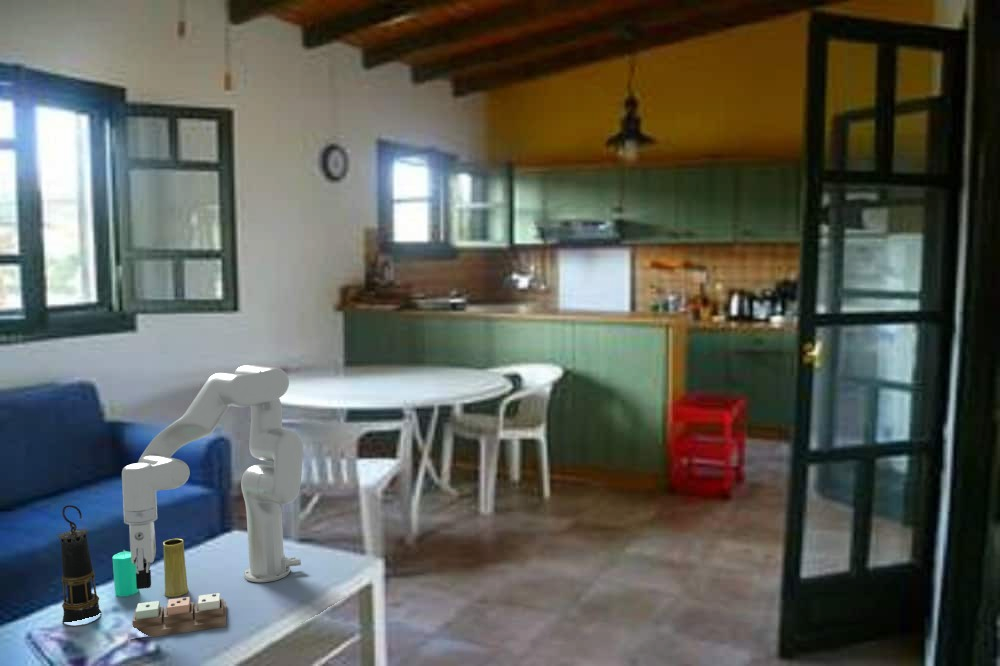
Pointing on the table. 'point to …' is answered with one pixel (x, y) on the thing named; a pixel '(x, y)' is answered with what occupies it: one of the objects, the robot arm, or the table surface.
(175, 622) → the tile board
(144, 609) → the tile one dot
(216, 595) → the tile two dots
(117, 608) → the table surface
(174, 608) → the tile three dots
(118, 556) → the candle
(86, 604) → the lantern
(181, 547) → the vase
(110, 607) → the table surface
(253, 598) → the table surface
